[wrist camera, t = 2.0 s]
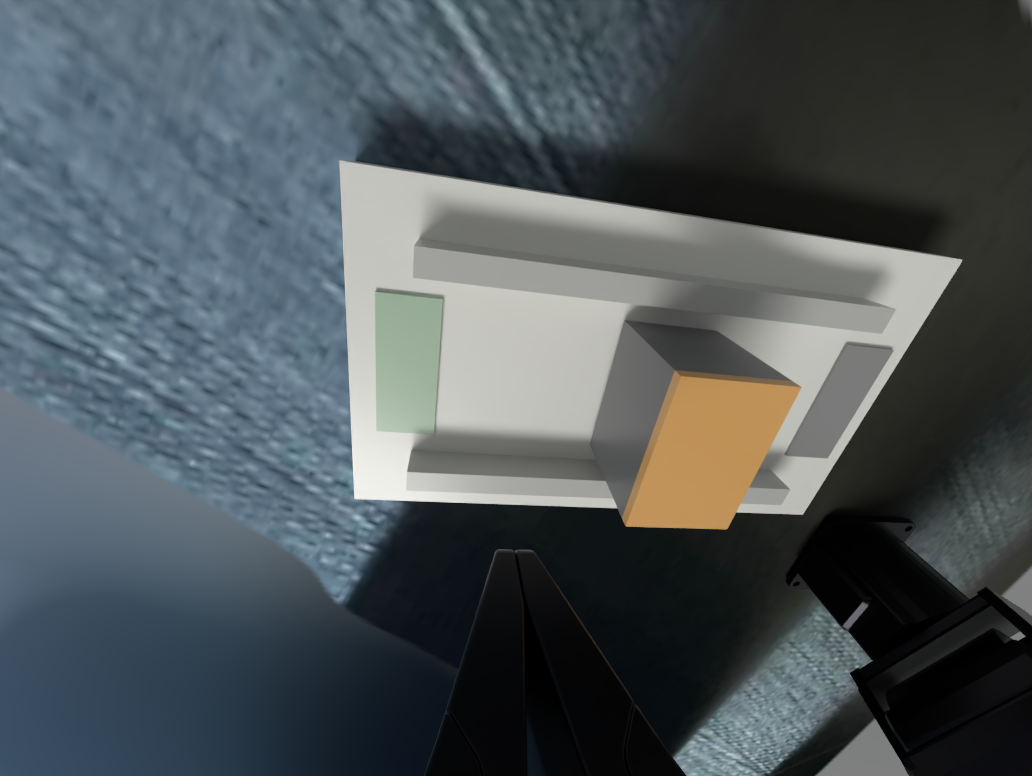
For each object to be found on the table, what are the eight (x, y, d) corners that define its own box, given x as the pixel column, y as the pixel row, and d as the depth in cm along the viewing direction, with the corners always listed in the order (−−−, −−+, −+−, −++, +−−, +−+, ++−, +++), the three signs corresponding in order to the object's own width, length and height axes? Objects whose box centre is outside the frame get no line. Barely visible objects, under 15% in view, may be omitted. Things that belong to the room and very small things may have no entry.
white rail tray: (915, 250, 18) (1005, 267, 15) (779, 490, 25) (822, 535, 22) (354, 160, 15) (325, 160, 12) (363, 471, 21) (346, 523, 18)
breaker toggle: (716, 330, 17) (801, 387, 13) (670, 449, 20) (726, 529, 15) (624, 320, 16) (681, 376, 12) (589, 444, 19) (625, 526, 15)
